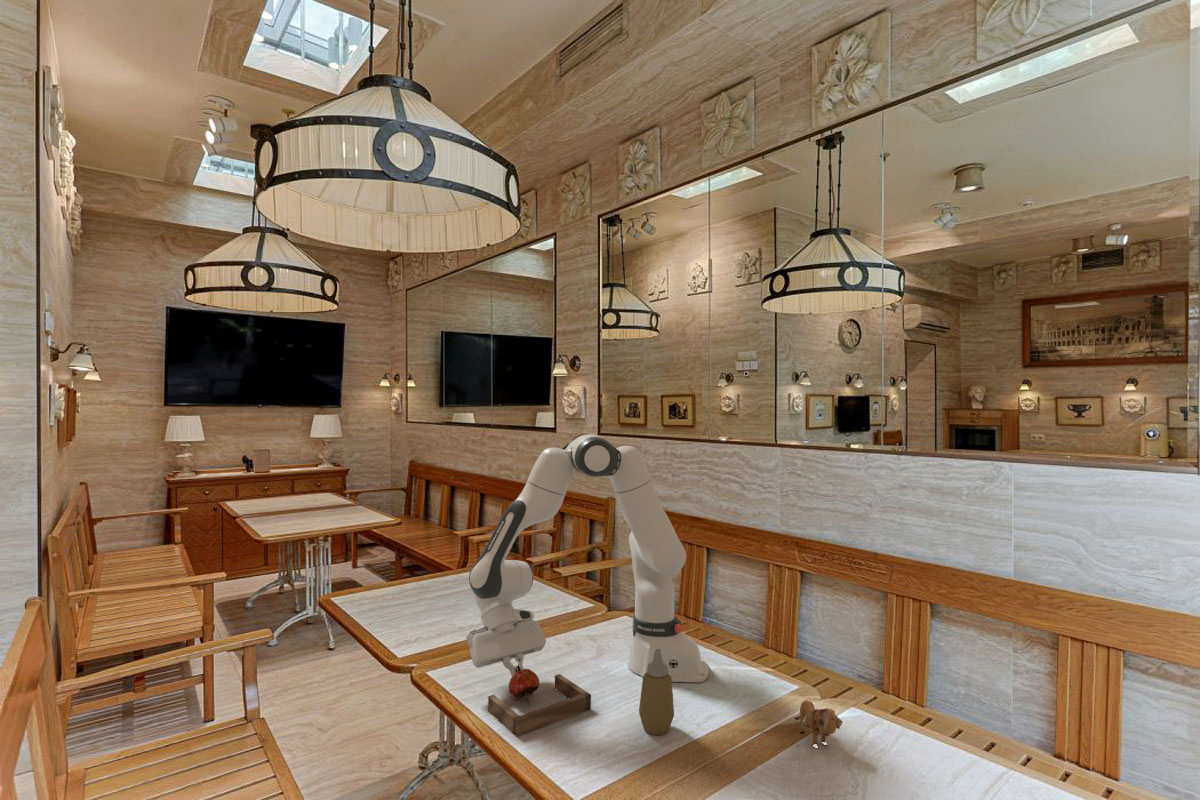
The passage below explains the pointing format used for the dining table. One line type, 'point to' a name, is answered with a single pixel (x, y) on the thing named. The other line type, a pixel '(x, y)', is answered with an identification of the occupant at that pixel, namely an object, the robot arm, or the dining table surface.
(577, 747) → the dining table surface
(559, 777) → the dining table surface
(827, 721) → the lion figurine
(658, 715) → the squeeze bottle
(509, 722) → the walnut bay
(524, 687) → the red round fruit
